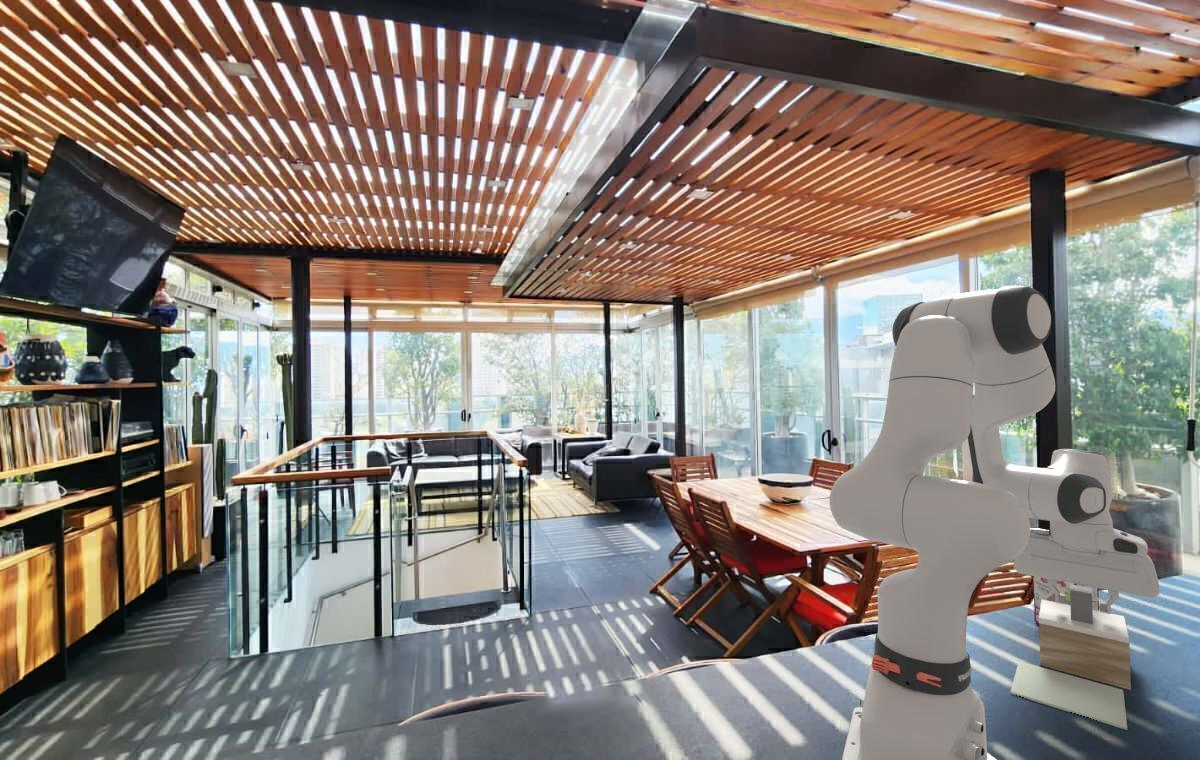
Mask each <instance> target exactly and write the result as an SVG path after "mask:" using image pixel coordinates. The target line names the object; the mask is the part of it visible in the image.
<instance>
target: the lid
mask: <svg viewBox="0 0 1200 760" xmlns="http://www.w3.org/2000/svg"><path fill="white" fill-rule="evenodd" d="M1125 622H1126V619H1125V616H1124V615H1122V614H1121V615H1119V614H1115V613H1111V614H1106V613H1102V612H1100V610H1099V611H1096V610H1092V590H1091V588H1088V587H1083V586H1077V585H1072V584H1070V605H1067V604H1065V605H1064V604H1058V603H1055V602H1052V601H1047V600H1041V607H1040V613H1039V623H1041V624H1045V625H1050V626H1054V627H1059V628H1063V629H1067V630H1072V631H1076V632H1081V633H1085V634H1089V635H1094V636H1098V637H1103V638H1107V639H1111V640H1116V641H1120V642H1124V643H1130V638H1129V631H1128V627H1127V628H1126V624H1127V622H1126V623H1125ZM1039 623H1038V624H1039ZM1127 631H1128V632H1127Z"/></svg>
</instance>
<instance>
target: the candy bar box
mask: <svg viewBox="0 0 1200 760" xmlns="http://www.w3.org/2000/svg"><path fill="white" fill-rule="evenodd" d="M1032 577H1033V578H1032V581H1033V605H1034V606H1033V607H1034V609H1033V610H1034V611H1033V612H1034V613H1033V614H1034V618H1033V619H1034V622H1036V623H1037V624H1039V613H1040V607H1041V600H1047V601H1052V602H1055V594H1054V593H1053V591H1052V590H1051V588H1050V587H1049V586H1048V583H1047V578H1042V577H1036V576H1032ZM1070 584H1072V585H1077V586H1083V587H1088V588H1091V590H1092V610H1096V611H1100V596H1099V594H1100V593H1099V588H1095V587H1090V586H1085V585H1079V584H1074V583H1069V582H1063V581H1058V580H1057V585H1056V587H1057V589H1058V590H1059V592H1060V593H1064V594H1065V599H1066V604H1067V605H1070Z"/></svg>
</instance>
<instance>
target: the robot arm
mask: <svg viewBox="0 0 1200 760" xmlns="http://www.w3.org/2000/svg"><path fill="white" fill-rule="evenodd" d="M1051 327H1052V315H1051V310H1050V307H1049V303H1048V301H1047V299H1046V297H1045V296H1044V295H1043V293H1041V292H1039V291H1038V290H1036V289H1034V288H1032V287H1031V286H1027V285H1026V286H1025V285H1008V286H1002V287H1000V288H998V289H997V288H996V289H985V290H977V291H969V292H965V293H964V292H960V293H954V294H950V295H946V296H943V297H942V296H941V297H938V298H935V299H930V300H928V301H919V302H917V303H914V304H911V305H909V306H907V307H905V308H902V309H901V311H900V312H899V313H898V314H897V315H896V318H895V319H894V321H893V324H892V330H891V331H892V333H891V334H892V338H893V339H892V340H893V343H894V345H895V350H894V351H893V352H894V353H893V358H892V361H891V368H890V372H889V380H888V389H887V397H886V398H887V399H886V404H885V412H884V418H883V423H882V427H881V430H880V433H879V435H878V438H877V439H876V442H874V445H873V446H872V447H871V450H870V451H869V452H868V453H867V455H866V456H865V457H864V458H863V459H862V460H861V461H860V462H858V463H857V464H856V465H855V466H853V467H852V468H850V469H849V470H847V471H845V472H844V473H842V474H841V475H839V477H837V479H836V480H835V481H834V483H833V484H832V488H831V490H830V492H829V493H830V494H829V508H830V512H831V515H832V517H833V520H834V521H835V523H836V524H837V525H838V526H839V527H840V528H841V529H843V530H845V531H848V532H850V533H852V534H854V535H857V536H859V537H862V538H864V539H867V540H868V541H873V542H876V543H877V542H878V543H883V544H887V545H891V546H896V547H901V548H905V549H911V550H913V551H916V552H917V555H918V557H917V561H918V562H917V566H916V568H909V569H905V570H901V571H898V572H894V573H892V574H889V575H888V576H887V577H885V578H884V579H883V580H882V581H881V582H880V585H879V587H878V588H877V632H876V633H875V638H874V643H873V651H872V652H873V656H872V659H871V663H870V664H868V665H867V668H868V669H867V670H868V672H867V673H868V676H867V682H866V685H865V686H866V687H865V692H864V698H863V697H861V699H860V700H859V705H860V706H857V707H854V709H853V711H852V713H851V719H850V722H849V728H848V731H847V736H846V740H845V745H844V749H843V752H842V753H843V754H842V757H841V760H998V759H997V758H995V757H994V756H992V755H991V754H990V753H989V752H988V746H987V745H988V744H987V743H988V742H987V741H988V740H987V727H986V726H987V725H986V714H985V711H986V710H985V703H984V702H983V701H982V700H981V698H980V697H978V695H977V694H976V693H975V691H974V690H973V689H972V686H971V683H972V678H971V677H972V675H971V674H972V664H971V658H970V654H969V653H968V651H967V628H968V627H967V625H968V624H967V623H968V621H967V620H968V612H969V605H970V600H971V598H972V594H973V592H974V591H975V589H976V587H977V585H978V584H979V583H980V581H982V580H983V578H984V577H986V576H987V575H988V574H990V573H991V572H992V571H994V570H996V569H998V568H1000V567H1002V566H1004V565H1007V564H1009V563H1011V562H1013V568H1014V570H1015V571H1016V572H1017V573H1018V574H1021V575H1027V576H1031V577H1033V576H1036V577H1042V578H1047V583H1048V586H1049V587H1050V588H1051V590H1052V591H1053V593H1054V594H1055V603H1058V604H1064V605H1065V604H1066V599H1065V594H1064V593H1060V592H1059V590H1058V589H1057V587H1056V585H1057V580H1058V581H1063V582H1069V583H1074V584H1079V585H1085V586H1090V587H1095V588H1098V589H1100V590H1101V589H1102V590H1107V595H1108V598H1107V599H1106V601H1105V600H1099V611H1100V612H1102V613H1106V614H1112V610H1111V609H1112V608H1111V607H1112V606H1113V605H1114V604H1115V602H1117V600H1118V599H1119V598H1120V596H1119V595H1120V593H1123V594H1129V595H1134V596H1139V597H1143V598H1149V599H1154V598H1156V597H1158V596H1159V595H1160V583H1159V577H1158V574H1157V570H1156V567H1155V566H1156V565H1155V564H1154V562H1153V560H1152V558H1151V556H1150V555H1148V552H1149V546H1148V544H1147V542H1146V541H1145V539H1143V538H1142V537H1140V536H1136V535H1134V534H1131V533H1128V532H1125V531H1123V530H1120V529H1117V528H1114V527H1113V526H1114V524H1113V522H1114V521H1113V518H1112V516H1111V513H1110V508H1111V507H1110V506H1111V504H1112V501H1113V490H1112V480H1111V474H1110V473H1111V472H1110V468H1109V464H1108V461H1107V459H1106V457H1105V455H1103V454H1101V453H1098V452H1095V451H1090V450H1082V449H1076V448H1075V449H1073V448H1059V449H1055V450H1054V451H1052V454H1051V461H1050V465H1048V466H1046V467H1035V466H1025V465H1016V464H1014V463H1011V462H1009V461H1007V460H1006V459H1005V458H1004V456H1003V455H1004V454H1003V448H1002V442H1001V441H1002V440H1001V435H1000V434H1001V433H1000V427H1002V426H1005V425H1007V424H1010V423H1014V422H1015V423H1016V422H1019V421H1023V420H1025V419H1027V418H1029V417H1032V416H1033V415H1035V414H1037V413H1038V412H1040V411H1041V410H1043V409H1044V408H1045V407H1046V406H1047V405H1048V404H1049V403H1050V402H1051V401H1052V399H1053V397H1054V395H1055V392H1056V379H1055V375H1054V372H1053V368H1052V365H1051V363H1050V360H1049V357H1048V355H1047V351H1046V349H1045V348H1044V345H1043V343H1044V342H1045V341H1046V340H1047V339H1048V337H1049V335H1050V334H1051V329H1052V328H1051ZM966 441H967V442H968V448H969V449H968V450H969V455H970V461H971V466H972V467H971V468H972V479H971V480H968V479H967V480H966V479H957V478H956V479H955V478H949V477H939V476H929V475H923V474H924V471H925V468H926V466H928V464H929V463H930V462H931V461H932V460H933V459H934V458H935V457H938V456H940V455H943V454H946V453H948V452H952V451H955V450H956V449H957V448H959V447H961V446H962V445H963V444H964V443H965V442H966ZM1030 519H1036V520H1040V521H1049V529H1043V528H1033V527H1032V528H1031V523H1030Z"/></svg>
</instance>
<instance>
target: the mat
mask: <svg viewBox="0 0 1200 760" xmlns="http://www.w3.org/2000/svg"><path fill="white" fill-rule="evenodd" d="M1010 695H1014V696H1016V695H1017V697H1019V696H1021V697H1020V698H1022V697H1024V698H1023V699H1026V698H1027V699H1026V700H1029V701H1033V702H1036V703H1039V704H1042V705H1045V706H1048V707H1052V708H1054V709H1058V710H1061V711H1065V712H1068V713H1070V712H1072V713H1071V714H1074V713H1076V714H1075V715H1077V714H1079V715H1078V716H1080V715H1082V716H1081V717H1083V716H1085V717H1084V718H1086V717H1089V718H1088V719H1090V718H1091V719H1090V720H1093V719H1094V720H1093V721H1096V720H1097V722H1099V723H1103V724H1106V725H1109V726H1113V727H1115V728H1119V729H1122V730H1125V731H1128V724H1127V723H1128V722H1127V721H1128V720H1127V713H1126V712H1127V711H1126V706H1125V705H1126V704H1125V694H1124V689H1123V688H1122V689H1121V688H1117V687H1116V686H1114V687H1113V686H1112V685H1108V684H1105V683H1104V684H1103V683H1099V682H1098V681H1097V682H1095V681H1094V680H1093V681H1092V680H1089V679H1087V678H1086V679H1085V678H1083V677H1082V678H1081V677H1078V676H1076V675H1075V676H1074V675H1072V674H1071V675H1070V674H1069V673H1065V672H1064V673H1063V672H1060V671H1058V670H1057V671H1056V670H1054V669H1050V668H1047V667H1045V668H1044V667H1043V666H1042V667H1041V666H1039V665H1035V664H1031V663H1028V662H1023V661H1020V660H1018V663H1017V667H1016V671H1015V674H1014V677H1013V681H1012V684H1011V689H1010Z"/></svg>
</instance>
